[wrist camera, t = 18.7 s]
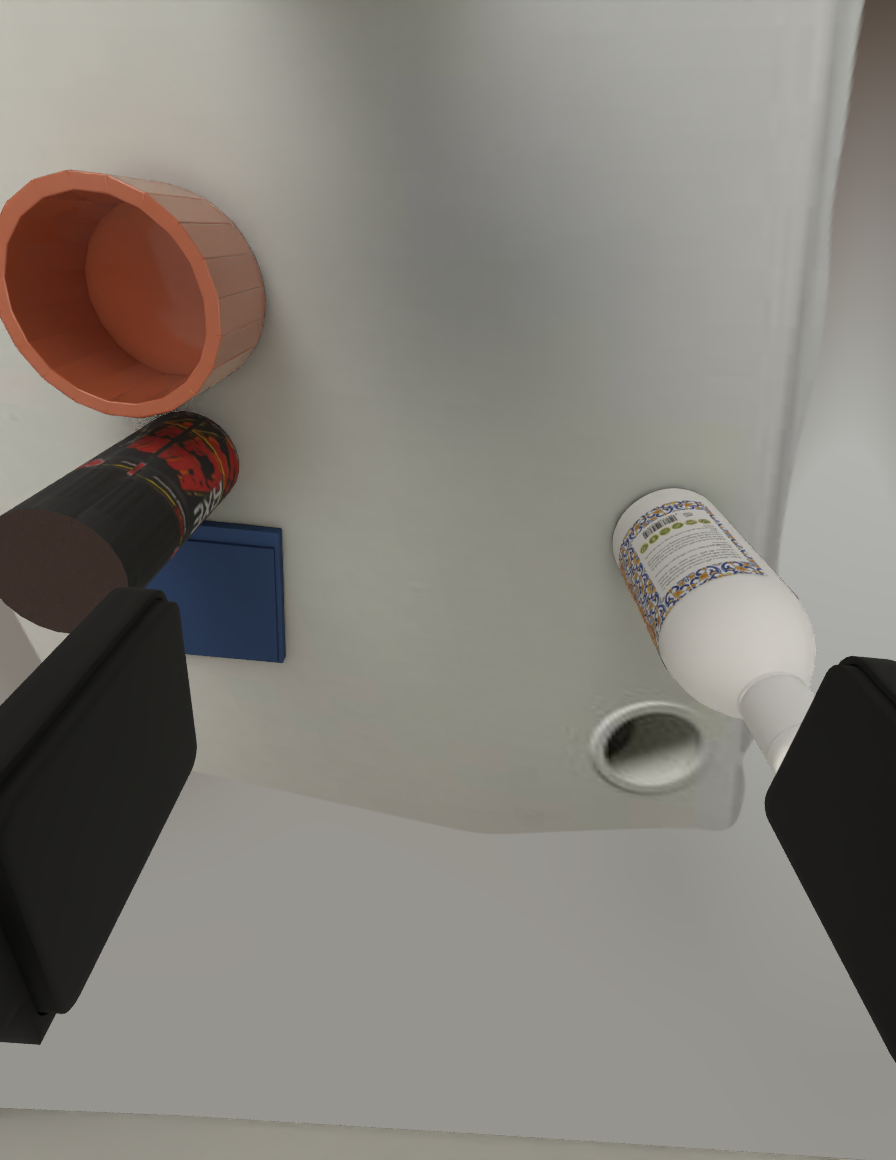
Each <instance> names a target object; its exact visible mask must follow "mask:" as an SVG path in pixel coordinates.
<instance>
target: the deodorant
mask: <svg viewBox="0 0 896 1160" xmlns="http://www.w3.org/2000/svg"><path fill="white" fill-rule="evenodd" d="M238 473H239V459H238V456H237V453H236V449H235V447H234V445H233V443H232V442H231V440H230V438H229V436H228V435H227V434H226V433H225V432H224V431H223V430H222V429H221V428H220V427H219V426H218V425H217V424H215V423H214V422H212V421H211V420H209V419H208V418H206V417H203V416H201V415H198V414H196V413H190V412H184V411H180V412H171V413H168V414H165V415H163V416H161V417H158V418H157V419H155V420H154V421H152V422H150V423H149V424H147V425H146V426H144V427H142V428H141V429H139V430H138V431H136V432H134V433H133V434H131V435H130V436H128V437H126V438H125V439H123V440H122V441H120V442H118V443H117V444H115V445H114V446H112V447H110V448H109V449H107V450H106V451H104V452H102V453H101V454H99V455H98V456H96V457H94V458H93V459H91V460H90V461H88V462H86V463H85V464H83V465H81V466H80V467H78V468H77V469H75V470H73V471H72V472H70V473H69V474H67V475H65V476H64V477H62V478H61V479H59V480H57V481H56V482H54V483H53V484H51V485H49V486H48V487H46V488H45V489H43V490H41V491H40V492H38V493H37V494H35V495H33V496H32V497H30V498H29V499H27V500H25V501H24V502H22V503H21V504H19V505H17V506H16V507H14V508H13V509H11V510H9V511H8V512H6V513H5V514H3V515H1V516H0V598H1V599H2V600H3V602H4V603H5V604H6V605H7V606H9V607H10V608H11V609H13V610H14V611H15V612H16V613H18V614H19V615H20V616H21V617H23V618H25V619H27V620H29V621H31V622H33V623H35V624H36V625H38V626H41V627H44V628H47V629H50V630H53V631H56V632H63V633H71V632H72V631H73V630H74V629H75V628H76V627H77V626H78V625H79V624H80V623H81V622H82V621H83V620H84V619H85V618H86V617H87V616H88V615H89V614H90V613H91V612H92V610H93V609H94V608H95V607H96V606H97V605H98V604H99V603H100V602H101V601H102V600H103V599H104V598H105V597H106V596H107V595H108V594H109V593H110V592H111V591H112V590H113V589H115V588H116V587H120V586H124V587H134V588H146V586H147V585H148V584H149V583H150V582H151V581H152V580H153V578H154V577H155V576H156V575H157V574H158V573H159V572H160V570H161V569H162V568H163V567H164V566H165V565H166V564H167V563H168V561H169V560H170V559H171V558H172V557H173V556H174V555H175V553H176V552H177V551H178V550H179V549H180V548H181V547H182V545H183V544H184V543H185V542H186V541H187V540H188V539H189V537H190V536H191V535H192V534H193V533H194V532H195V531H196V529H197V528H198V527H199V526H200V525H201V524H202V523H203V521H204V520H205V519H206V518H207V517H208V516H209V515H210V513H211V512H212V511H213V510H214V509H215V508H216V507H217V506H218V504H219V503H220V502H221V501H222V500H223V499H224V498H225V496H226V495H227V494H228V493H229V492H230V490H231V489H232V487H233V486H234V484H235V483H236V480H237V477H238Z"/></svg>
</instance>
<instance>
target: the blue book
mask: <svg viewBox="0 0 896 1160" xmlns="http://www.w3.org/2000/svg"><path fill="white" fill-rule="evenodd" d="M145 589H155V590H161V591H163V592H164V593H165V595H166V597H167V600H168V601H172V602H176V603H177V605H178V606H179V610H180V616H181V624H182V632H183V640H184V648H185V654H190V655H201V656H212V657H223V658H234V659H245V660H256V661H266V662H277V663H283V662H284V659H285V657H286V656H285V624H284V591H283V559H282V529H281V528H271V527H261V526H251V525H241V524H231V523H221V522H211V521H203V523H202V524H201V525H200V526H199V527H198V528H197V529H196V531H195V532H194V533H193V534H192V535H191V536H190V537H189V539H188V540H187V541H186V542H185V543H184V544H183V545H182V547H181V548H180V549H179V550H178V551H177V552H176V553H175V555H174V556H173V557H172V558H171V559H170V560H169V561H168V563H167V564H166V565H165V566H164V567H163V568H162V569H161V570H160V572H159V573H158V574H157V575H156V576H155V577H154V578H153V580H152V581H151V582H150V583H149V584H148V585H147V586H146V588H145Z"/></svg>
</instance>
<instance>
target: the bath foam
mask: <svg viewBox="0 0 896 1160" xmlns="http://www.w3.org/2000/svg"><path fill="white" fill-rule="evenodd" d="M613 553H614V557H615V560H616V562H617V565H618V567H619V569H620V571H621V574H622V576H623V578H624V580H625V583H626V585H627V587H628V589H629V591H630V593H631V595H632V598H633V600H634V602H635V604H636V606H637V608H638V610H639V613H640V615H641V617H642V619H643V621H644V623H645V625H646V628H647V630H648V632H649V634H650V636H651V638H652V640H653V643H654V645H655V647H656V649H657V651H658V653H659V655H660V658H661V660H662V662H663V664H664V666H665V667H666V669H667V670H668V671H669V673H670V674H671V676H672V677H673V678H674V680H675V681H676V682H677V683H678V684H679V685H680V686H681V687H682V688H683V689H684V690H685V691H686V692H687V693H688V694H689V695H690V696H692V697H693V698H694V699H696V700H697V701H698V702H700V703H702V704H703V705H705V706H707V707H709V708H711V709H713V710H715V711H718V712H720V713H723V714H726V715H728V716H731V717H735V718H738V719H741V720H744V721H745V723H746V725H747V727H748V729H749V730H750V732H751V734H752V736H753V737H754V739H755V741H756V742H757V744H758V746H759V748H760V749H761V751H762V753H763V754H764V756H765V758H766V760H767V762H768V763H769V765H770V767H771V768H772V770H773V772H774V773H775V775H776V773H777V771H778V769H779V767H780V765H781V763H782V761H783V759H784V757H785V755H786V753H787V751H788V749H789V747H790V745H791V743H792V741H793V739H794V737H795V735H796V733H797V731H798V729H799V727H800V725H801V723H802V721H803V719H804V717H805V715H806V713H807V711H808V709H809V707H810V705H811V703H812V701H813V699H814V697H815V694H814V693H813V692H812V691H811V690H810V686H811V682H812V678H813V673H814V668H815V659H816V642H815V637H814V632H813V628H812V625H811V622H810V620H809V617H808V615H807V613H806V611H805V610H804V608H803V606H802V604H801V603H800V601H799V599H798V597H797V596H796V595H795V594H794V592H793V591H792V590H791V589H790V588H789V587H788V586H787V585H786V584H785V583H784V582H783V580H781V578H780V577H779V576H778V575H777V574H776V573H775V572H774V571H773V570H772V568H771V567H770V566H769V565H768V564H767V563H766V562H765V561H764V560H763V559H762V558H761V556H760V555H759V554H758V553H757V552H756V551H755V550H754V549H753V548H752V547H751V546H750V544H749V543H748V542H747V541H746V540H745V539H744V538H743V537H742V536H741V535H740V534H739V532H738V531H737V530H736V529H735V528H734V527H733V526H732V525H731V524H730V523H729V521H727V520H726V518H725V517H724V516H723V515H722V514H721V513H720V512H719V511H718V510H717V509H716V508H715V507H714V505H713V504H712V503H711V502H710V501H708V500H707V499H706V498H705V497H703V496H701V495H700V494H698V493H695V492H693V491H690V490H686V489H677V488H672V489H663V490H659V491H655V492H652V493H650V494H648V495H646V496H644V497H642V498H640V499H639V500H637V501H636V502H635V503H633V504H632V505H631V506H630V507H629V508H628V509H627V510H626V511H625V512H624V514H623V515H622V516H621V518H620V520H619V521H618V523H617V525H616V528H615V531H614V535H613Z"/></svg>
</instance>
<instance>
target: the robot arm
mask: <svg viewBox="0 0 896 1160" xmlns="http://www.w3.org/2000/svg"><path fill="white" fill-rule="evenodd" d="M196 750H197V742H196V734H195V727H194V719H193V711H192V703H191V695H190V687H189V679H188V671H187V664H186V656H185V648H184V640H183V632H182V624H181V616H180V610H179V606H178V605H177V603H176V602H172V601H168V600H167V597H166V595H165V593H164V592H163V591H161V590H155V589H145V588H134V587H124V586H120V587H116V588H115V589H113V590H112V591H111V592H110V593H109V594H108V595H107V596H106V597H105V598H104V599H103V600H102V601H101V602H100V603H99V604H98V605H97V606H96V607H95V608H94V609H93V610H92V612H91V613H90V614H89V615H88V616H87V617H86V618H85V619H84V620H83V621H82V622H81V623H80V624H79V625H78V626H77V627H76V628H75V629H74V630H73V631H72V632H71V633H70V634H69V635H68V636H67V637H66V638H65V639H64V640H63V642H62V643H61V644H60V645H59V646H58V647H57V648H56V649H55V650H54V651H53V652H52V653H51V654H50V655H49V656H48V657H47V658H46V659H45V660H44V661H43V662H42V663H41V664H40V665H39V666H38V667H37V668H36V670H35V671H34V672H33V673H32V674H31V675H30V676H29V677H28V678H27V679H26V680H25V681H24V682H23V683H22V684H21V685H20V686H19V687H18V688H17V689H16V690H15V691H14V692H13V694H11V696H9V698H8V699H7V700H6V701H5V702H4V703H3V704H2V705H1V706H0V1042H9V1043H24V1044H38V1045H40V1044H41V1042H42V1040H43V1038H44V1036H45V1034H46V1032H47V1030H48V1028H49V1026H50V1024H51V1022H52V1020H53V1019H54V1017H55V1014H56V1013H58V1014H59V1013H60V1014H65V1013H66V1012H68V1011H69V1010H70V1009H71V1008H72V1007H73V1005H74V1004H75V1003H76V1001H77V999H78V997H79V996H80V994H81V992H82V990H83V988H84V986H85V984H86V982H87V980H88V978H89V975H90V974H91V972H92V970H93V968H94V966H95V963H96V961H97V959H98V958H99V955H100V953H101V951H102V949H103V947H104V945H105V943H106V941H107V939H108V937H109V935H110V933H111V931H112V929H113V927H114V925H115V923H116V921H117V919H118V917H119V915H120V913H121V911H122V909H123V907H124V905H125V903H126V901H127V899H128V897H129V895H130V893H131V891H132V889H133V887H134V885H135V883H136V881H137V879H138V877H139V875H140V873H141V871H142V869H143V867H144V865H145V863H146V861H147V859H148V857H149V855H150V853H151V851H152V849H153V846H154V845H155V843H156V841H157V839H158V837H159V834H160V833H161V830H162V829H163V827H164V825H165V823H166V821H167V819H168V817H169V815H170V813H171V811H172V809H173V807H174V804H175V803H176V801H177V799H178V797H179V795H180V792H181V790H182V789H183V786H184V784H185V782H186V780H187V778H188V776H189V774H190V772H191V770H192V768H193V765H194V762H195V757H196ZM765 811H766V816H767V818H768V820H769V822H770V824H771V826H772V828H773V830H774V832H775V834H776V836H777V838H778V840H779V841H780V844H781V845H782V847H783V849H784V851H785V853H786V855H787V857H788V859H789V861H790V863H791V865H792V867H793V869H794V870H795V872H796V874H797V876H798V878H799V880H800V882H801V884H802V886H803V888H804V890H805V892H806V893H807V895H808V897H809V899H810V901H811V903H812V905H813V907H814V909H815V911H816V913H817V915H818V916H819V918H820V920H821V922H822V924H823V926H824V928H825V930H826V932H827V934H828V936H829V937H830V939H831V941H832V943H833V945H834V947H835V949H836V951H837V953H838V955H839V957H840V958H841V961H842V962H843V964H844V966H845V968H846V970H847V972H848V974H849V976H850V978H851V980H852V981H853V983H854V985H855V987H856V989H857V991H858V993H859V995H860V997H861V999H862V1001H863V1003H864V1005H865V1007H866V1008H867V1010H868V1012H869V1014H870V1016H871V1018H872V1020H873V1022H874V1024H875V1026H876V1028H877V1030H878V1031H879V1033H880V1035H881V1037H882V1039H883V1041H884V1043H885V1045H886V1047H887V1049H888V1051H889V1053H890V1054H891V1056H892V1058H893V1059H894V1061H895V1062H896V661H892V660H888V659H877V658H868V657H856V656H850V657H846V658H845V659H843V660H842V661H841V662H840V663H839V665H834V666H832V667H831V668H830V669H829V670H828V672H827V673H826V675H825V677H824V679H823V681H822V683H821V685H820V687H819V689H818V691H817V693H816V695H815V697H814V699H813V701H812V703H811V705H810V707H809V709H808V711H807V713H806V715H805V717H804V719H803V721H802V723H801V725H800V727H799V729H798V731H797V733H796V735H795V737H794V739H793V741H792V743H791V745H790V747H789V749H788V751H787V753H786V755H785V757H784V759H783V761H782V763H781V765H780V767H779V769H778V771H777V773H776V775H775V777H774V779H773V781H772V783H771V785H770V787H769V789H768V791H767V794H766V797H765ZM0 1160H858V1159H845V1158H831V1157H817V1156H803V1155H787V1154H773V1153H758V1152H743V1151H728V1150H714V1149H699V1148H684V1147H669V1146H653V1145H639V1144H625V1143H608V1142H594V1141H578V1140H564V1139H549V1138H533V1137H518V1136H502V1135H487V1134H473V1133H457V1132H441V1131H425V1130H407V1129H392V1128H374V1127H359V1126H342V1125H325V1124H309V1123H294V1122H276V1121H260V1120H243V1119H228V1118H211V1117H194V1116H178V1115H157V1114H133V1113H107V1112H84V1111H83V1112H82V1111H60V1110H59V1111H58V1110H35V1109H11V1108H0Z"/></svg>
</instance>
